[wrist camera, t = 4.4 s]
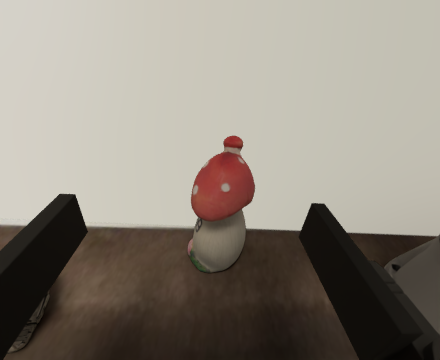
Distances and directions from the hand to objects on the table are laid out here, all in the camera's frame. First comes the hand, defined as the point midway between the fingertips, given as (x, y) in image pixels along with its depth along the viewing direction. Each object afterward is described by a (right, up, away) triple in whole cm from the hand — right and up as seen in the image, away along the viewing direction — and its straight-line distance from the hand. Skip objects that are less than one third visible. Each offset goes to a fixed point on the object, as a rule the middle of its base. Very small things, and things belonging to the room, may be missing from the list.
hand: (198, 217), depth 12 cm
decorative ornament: (+1, -7, +16) cm, 18 cm away
